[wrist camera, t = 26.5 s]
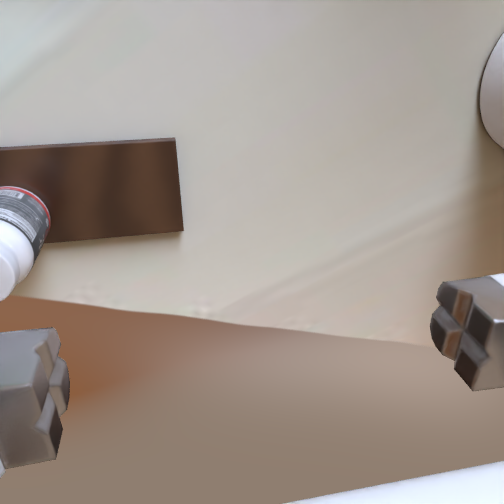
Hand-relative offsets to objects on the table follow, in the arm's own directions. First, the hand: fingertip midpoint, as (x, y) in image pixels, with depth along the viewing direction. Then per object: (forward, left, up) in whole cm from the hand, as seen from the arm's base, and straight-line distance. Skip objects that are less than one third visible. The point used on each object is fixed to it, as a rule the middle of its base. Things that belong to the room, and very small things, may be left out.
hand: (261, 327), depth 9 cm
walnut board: (+11, +8, -31) cm, 34 cm away
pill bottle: (+15, +9, -30) cm, 35 cm away
